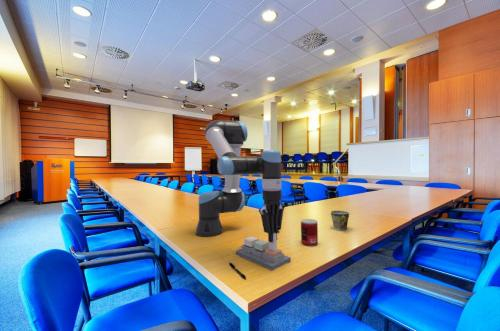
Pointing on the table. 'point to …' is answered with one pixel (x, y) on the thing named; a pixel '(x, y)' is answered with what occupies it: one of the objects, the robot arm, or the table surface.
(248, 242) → the key ivory
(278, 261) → the keypad
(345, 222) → the ceramic cup
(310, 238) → the canned food
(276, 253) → the key terracotta
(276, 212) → the robot arm
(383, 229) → the table surface
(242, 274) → the pen
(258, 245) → the key green
